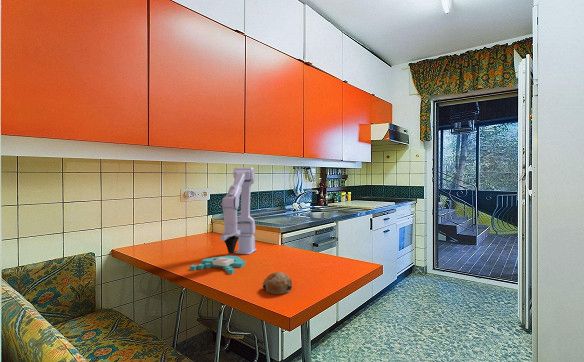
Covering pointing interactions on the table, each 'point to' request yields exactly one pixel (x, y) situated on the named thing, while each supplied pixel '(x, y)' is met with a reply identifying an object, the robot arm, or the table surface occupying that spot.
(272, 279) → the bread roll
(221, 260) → the tile
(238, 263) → the alien figure
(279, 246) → the table surface
